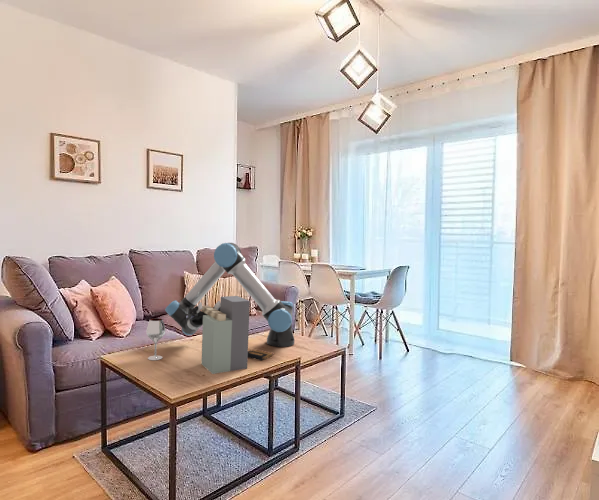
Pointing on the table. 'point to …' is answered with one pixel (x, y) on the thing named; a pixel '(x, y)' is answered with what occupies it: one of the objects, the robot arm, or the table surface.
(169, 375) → the table surface
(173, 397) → the table surface
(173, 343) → the table surface
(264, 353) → the ammunition clip
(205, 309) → the beech bar
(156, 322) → the wineglass
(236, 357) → the step stand
